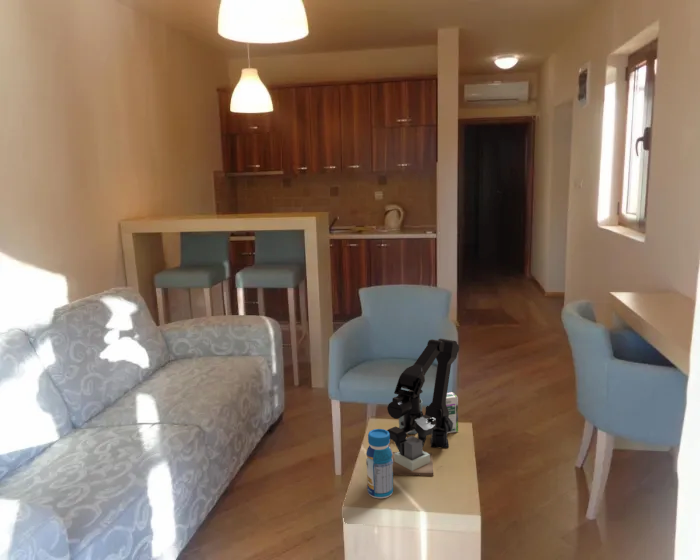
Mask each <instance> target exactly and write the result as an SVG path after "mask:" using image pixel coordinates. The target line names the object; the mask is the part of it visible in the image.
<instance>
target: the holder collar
mask: <svg viewBox="0 0 700 560" xmlns="http://www.w3.org/2000/svg"><path fill="white" fill-rule="evenodd" d="M396 452H397V453H394V457H395V462H396V463H398V464H400V465H402V466H404V467H406V468H408V469H409V470H411V471H413V470H415V469H417V468H419V467H421V466H424V465H426V464H428V463H430V454H428V453H429V452H427V451H424V450H423V456H421V457H419V458H417V459H414V460H410V459H408V458H406V457H404V456H402V455H401V454H400V452H399V451H396Z"/></svg>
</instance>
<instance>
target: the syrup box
mask: <svg viewBox="0 0 700 560" xmlns="http://www.w3.org/2000/svg"><path fill="white" fill-rule="evenodd" d="M446 406H447V408H448V411H449V419H450V420H451V421H452V422H453V428H452V429H451V432H447V434H452V433H458V432H459V397H458V396H457V394H455V392H452V391H450V392H447V397H446Z"/></svg>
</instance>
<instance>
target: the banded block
mask: <svg viewBox="0 0 700 560" xmlns="http://www.w3.org/2000/svg"><path fill="white" fill-rule="evenodd" d="M406 440H407V441H406V442H405V445H404V457H406V458H408V459H410V460H414V459H417V458H419V457H421V456H423V451H424V450H423V448H424V446H423V447H422V440H420V439H418V437H416V436H415V435H411V436H408V437H406Z"/></svg>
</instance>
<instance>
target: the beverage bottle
mask: <svg viewBox="0 0 700 560" xmlns="http://www.w3.org/2000/svg"><path fill="white" fill-rule="evenodd" d="M387 430H388V429H383V428H375V429H372V430H369V432H368V434H367V439H368V441H367V442H368V445H369V446H368V447H367V449H366V453H365V454H366V459H365V464H366V465H365V466H366V478H367V479H366V480H367V481H366V482H367V483H366V484H367V485H366V486H367V487H366V489H367V490H366V491H367V493H368V495H369V496H371V497H372V498H374V499H387V498H389V497H390V496H392V495H393V492H394V475H393V458H392V454H393V450H392V448H391V446H390V442H391V439H390V434H389V432H388V431H387Z"/></svg>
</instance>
